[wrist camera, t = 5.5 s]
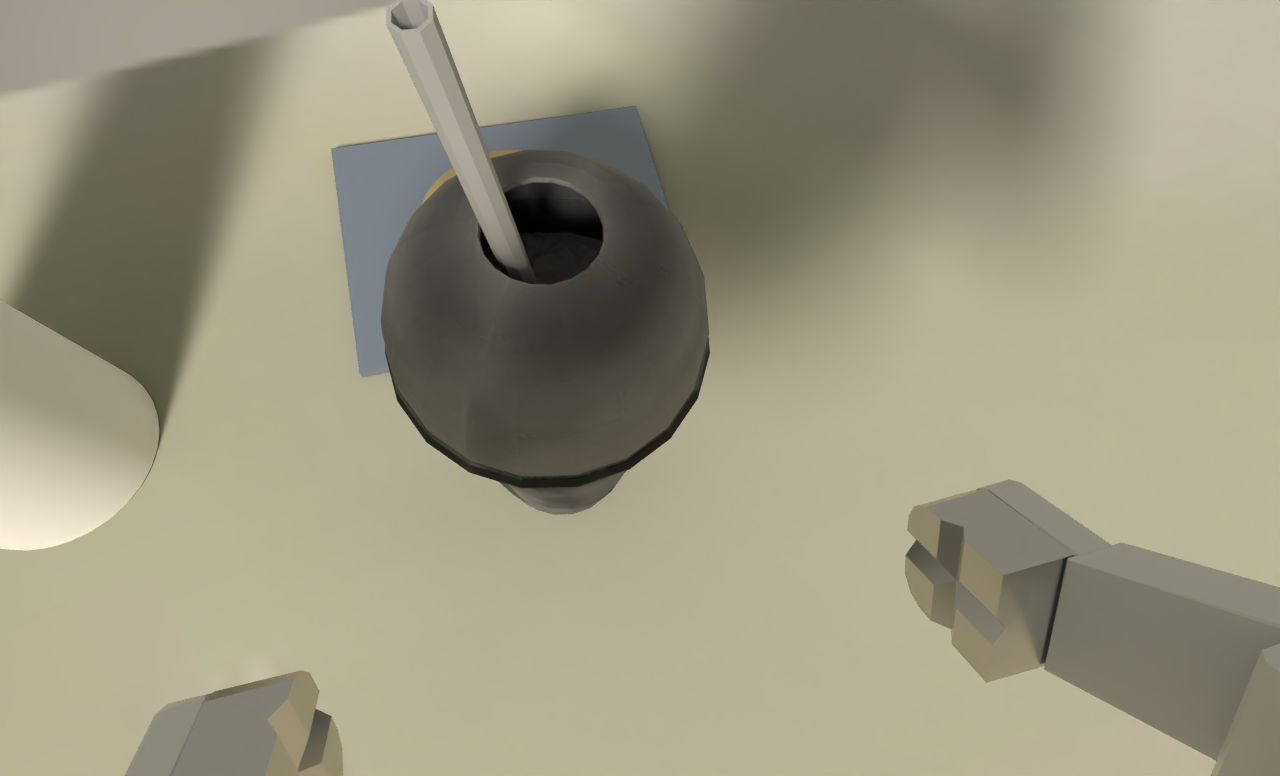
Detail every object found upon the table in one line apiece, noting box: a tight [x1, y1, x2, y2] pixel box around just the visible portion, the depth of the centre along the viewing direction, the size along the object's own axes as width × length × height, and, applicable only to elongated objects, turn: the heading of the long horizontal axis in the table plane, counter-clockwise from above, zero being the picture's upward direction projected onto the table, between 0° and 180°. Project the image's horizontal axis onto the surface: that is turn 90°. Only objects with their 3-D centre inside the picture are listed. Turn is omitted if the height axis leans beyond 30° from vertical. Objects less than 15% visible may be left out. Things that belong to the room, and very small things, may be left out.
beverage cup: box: [381, 0, 710, 514], centre depth 16 cm, size 7×7×20 cm
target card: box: [331, 106, 669, 377], centre depth 29 cm, size 14×11×1 cm
